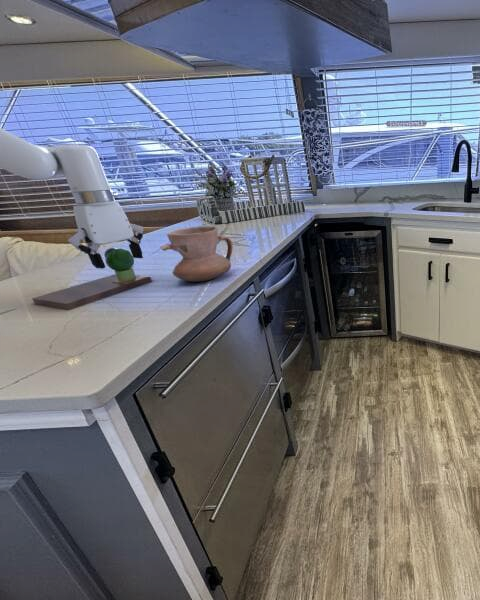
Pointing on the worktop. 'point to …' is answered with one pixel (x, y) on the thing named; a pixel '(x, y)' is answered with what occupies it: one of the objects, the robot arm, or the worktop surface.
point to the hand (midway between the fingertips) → (120, 262)
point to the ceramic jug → (199, 253)
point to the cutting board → (89, 292)
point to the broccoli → (120, 263)
